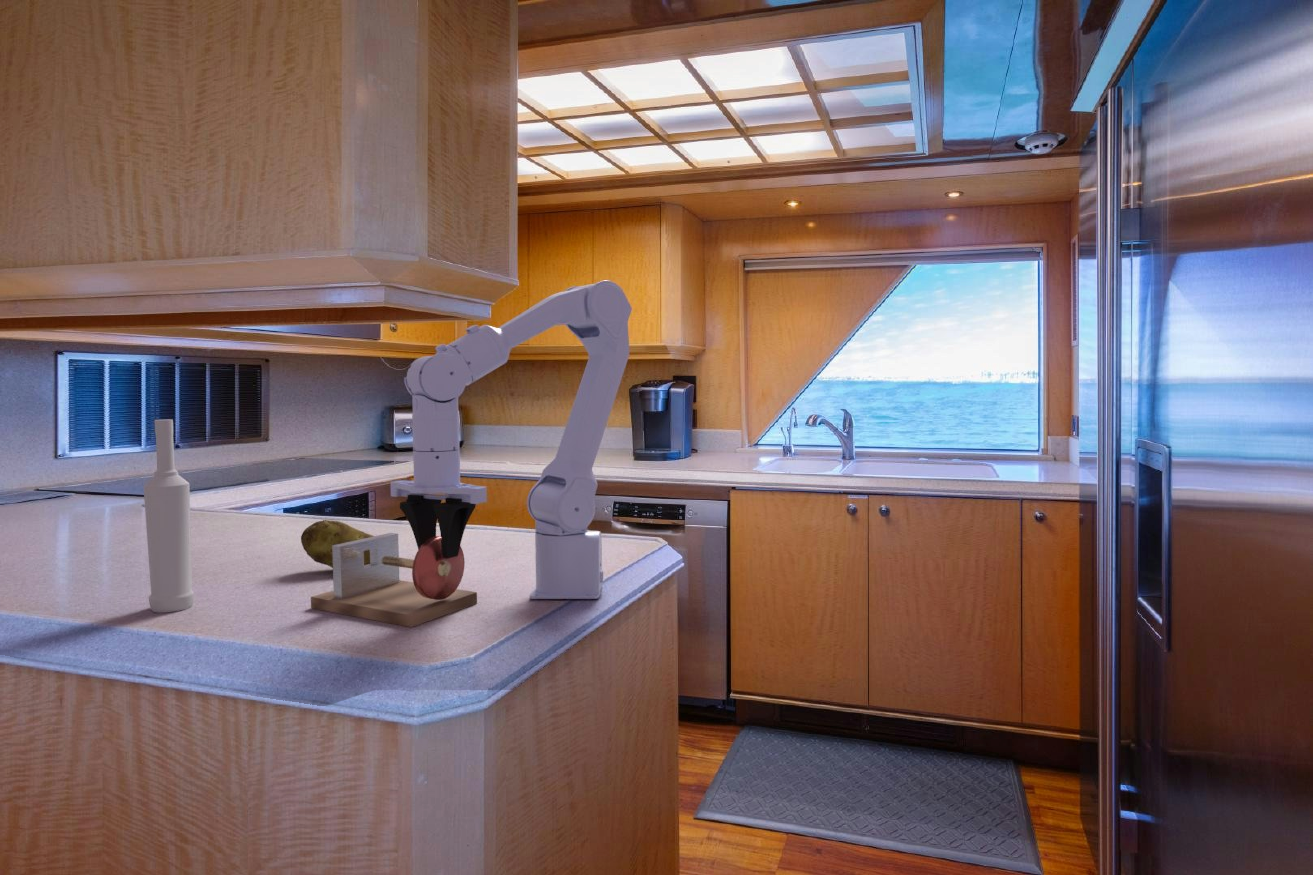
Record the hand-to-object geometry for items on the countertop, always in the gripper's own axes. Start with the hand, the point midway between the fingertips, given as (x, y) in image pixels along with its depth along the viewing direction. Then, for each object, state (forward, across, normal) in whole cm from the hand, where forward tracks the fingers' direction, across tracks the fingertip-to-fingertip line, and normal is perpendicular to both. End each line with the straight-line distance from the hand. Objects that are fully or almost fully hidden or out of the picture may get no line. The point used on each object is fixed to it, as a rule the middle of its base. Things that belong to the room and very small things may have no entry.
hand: (438, 555), depth 103 cm
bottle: (+8, -34, -14) cm, 37 cm away
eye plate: (+6, -13, 0) cm, 14 cm away
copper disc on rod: (+6, -5, 0) cm, 7 cm away
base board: (+8, -8, 0) cm, 11 cm away
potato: (+8, -30, +11) cm, 33 cm away
